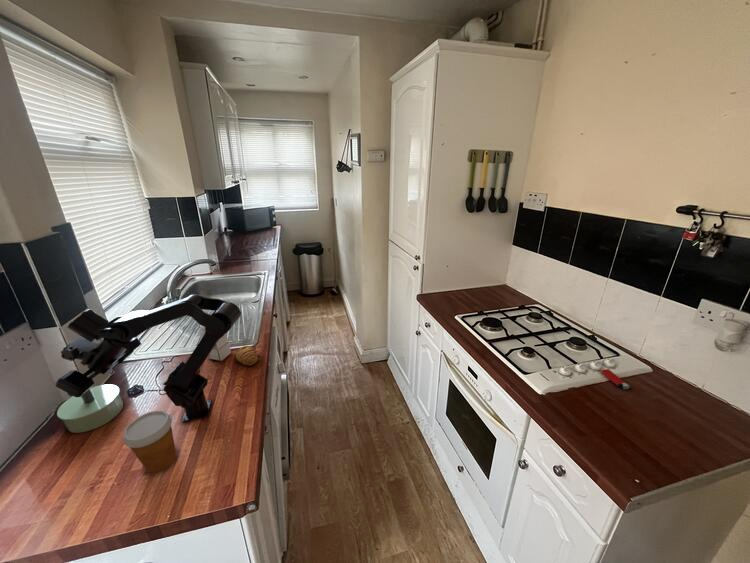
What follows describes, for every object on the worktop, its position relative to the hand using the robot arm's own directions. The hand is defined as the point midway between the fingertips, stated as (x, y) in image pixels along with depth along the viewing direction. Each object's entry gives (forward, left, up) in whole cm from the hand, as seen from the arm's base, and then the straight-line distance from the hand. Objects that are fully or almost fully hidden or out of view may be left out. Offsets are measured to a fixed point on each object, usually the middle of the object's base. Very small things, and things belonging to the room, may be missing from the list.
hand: (85, 383), depth 86 cm
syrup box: (+20, -30, -12) cm, 38 cm away
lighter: (-36, -154, -12) cm, 159 cm away
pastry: (+15, -40, -12) cm, 44 cm away
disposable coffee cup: (-23, -23, -12) cm, 34 cm away
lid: (0, +1, -7) cm, 7 cm away
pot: (0, +1, -12) cm, 12 cm away
